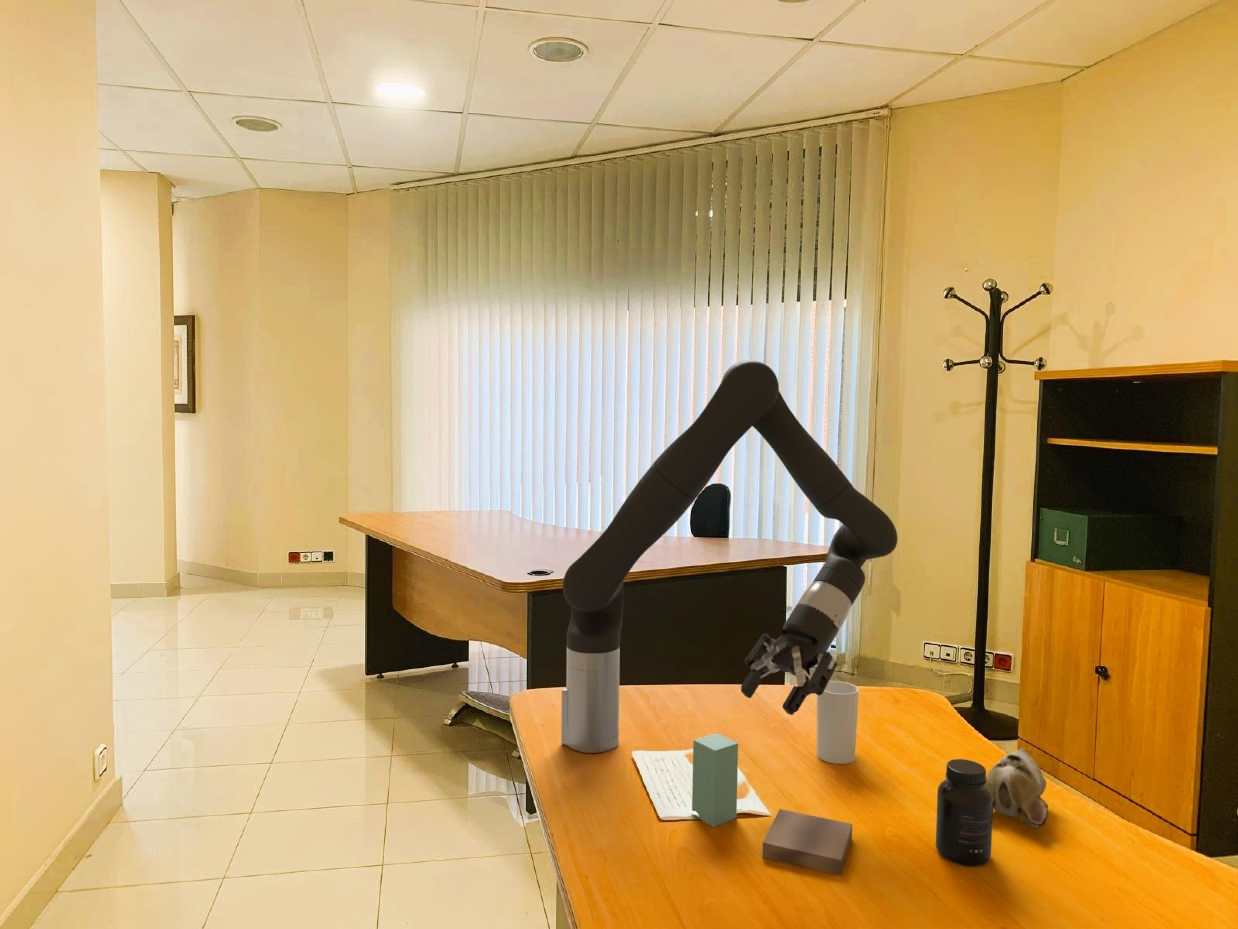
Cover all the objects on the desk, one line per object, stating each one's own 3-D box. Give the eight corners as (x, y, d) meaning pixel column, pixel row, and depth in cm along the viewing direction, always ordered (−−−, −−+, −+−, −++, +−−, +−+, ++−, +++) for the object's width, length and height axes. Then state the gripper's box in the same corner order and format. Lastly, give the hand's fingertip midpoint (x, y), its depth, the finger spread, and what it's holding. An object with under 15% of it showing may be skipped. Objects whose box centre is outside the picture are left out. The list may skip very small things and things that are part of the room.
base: (762, 857, 107) (762, 842, 107) (779, 822, 116) (779, 809, 116) (840, 875, 103) (841, 860, 103) (851, 838, 112) (852, 824, 112)
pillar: (691, 814, 119) (693, 740, 118) (714, 805, 121) (716, 733, 121) (713, 827, 115) (714, 750, 114) (736, 818, 118) (738, 743, 117)
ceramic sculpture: (1062, 746, 123) (1044, 788, 111) (1060, 801, 124) (1042, 849, 112) (986, 730, 129) (961, 768, 117) (985, 782, 130) (960, 825, 118)
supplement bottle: (926, 841, 112) (929, 755, 111) (974, 840, 112) (977, 754, 112) (950, 869, 105) (954, 778, 104) (1001, 867, 106) (1005, 776, 105)
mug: (849, 768, 134) (852, 697, 134) (809, 759, 138) (811, 689, 137) (866, 747, 143) (868, 680, 142) (828, 739, 147) (830, 673, 146)
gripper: (772, 594, 133) (720, 676, 127) (844, 612, 122) (790, 703, 116) (794, 621, 137) (743, 703, 131) (865, 641, 125) (813, 731, 119)
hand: (765, 703), depth 123 cm, fingers open, 8 cm apart
